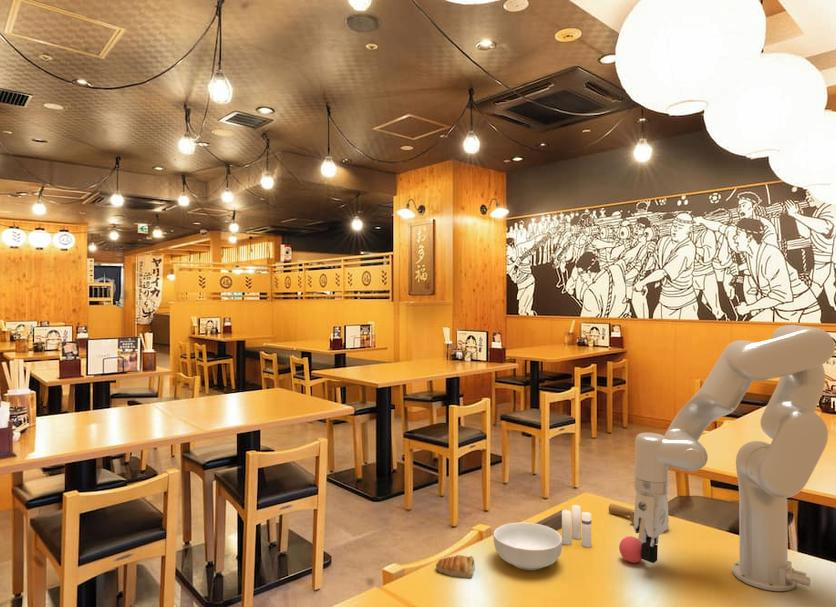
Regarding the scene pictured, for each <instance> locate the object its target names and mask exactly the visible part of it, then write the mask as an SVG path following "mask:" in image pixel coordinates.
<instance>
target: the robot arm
mask: <svg viewBox="0 0 836 607" xmlns="http://www.w3.org/2000/svg"><path fill="white" fill-rule="evenodd" d="M835 350H836V343H835V340H834V339H833V337H832V336H831V334H830V333H828V332H827V331H825V330H823V329H822V328H819V327H814V326H813V327H812V326H808V325H806V326H805V325H798V324H787V325H781V326H779V327H777V328H776V329H775V330H774V331H773V332H772V334H771V336H770V338H769V339H766V340H761V341H752V340H744V339H743V340H742V339H741V340H740V339H738V340H735V341H732V342H730V343H729V344H728V345H726V347H724V349H723V352H721V354H720V356H719V357H718V359H717V361H716V362H715V364H714V366H713V367H712V368H711V371H710V372H709V373H708V376H706V378H705V380H704V382H703V383H702V385H701V387H700V389H699V390H698V391H697V392H696V393H695V394H694V395H693V396H692V397H691V398H690V399H689V400H688V401H687V402H686V403H685V404H684V405H683V406H682V408H680V410H679V411H678V412H677V414H676V415H675V417H674V418H673V420H672V421H671V423H670V425H669V426H668V428H667V430H666V431H665V434H664V435H663V434H660V433H655V432H640V433H639V434H637V435H636V436H635V442H634V445H635V446H634V480H633V482H634V487H633V489H634V491H635V492H636V493H635V502H634V509H633V510H634V525H633V529H634V530H633V531H634V532H635V534H638V536H637V537H638V538H637V539H638V541H640V542H641V544H642V554H641V558H642V560H643V561H646V562H648V563H651V564H655V563H656V562H658V552H659V551H658V548H659V547H658V544H659V536H660V535H662V534H663V533H664V532H666V531H667V530H668V528H669V522H668V519H669V502H668V501H669V499H668V494H669V468H673V469H677V470H682V471H687V472H696V471H699V470H701V469H703V468H704V467H706V465H707V462H708V458H709V457H708V452H707V450H706V448H705V447H704V445H702V444H703V443H701V442H700V441H699V439H700V438H701V436H702V435H703V433H704V432H705V430H706V429H707V428H708V426H710V424H712V423H714V421H716V420H717V419H720V418H723V417H725V416H727V415H730V414H731V413H733V412H734V411H736V409H737V408H738V406H739V404H741V402H742V400H743V398H744V397H745V395H746V394H747V392H748V390H749V388H750V387H751V385H752V384H753V382H755V381H757V382H759V381H761V382H762V381H768V380H774V379H777V378H779V379H778V382H777V384H776V386H775V389H774V391H773V393H772V394H771V397H770V398H769V401H768V403H767V405H766V407H765V409H764V411H763V412H762V415H761V417H760V427H761V429H762V432H764V434H765V435H767V436H768V437H769V438H770V439H772V441H771V442H770V443H768V442H764V441H762V440H761V441H759V440H756V441H755V440H754V441H750V442H749V441H748V442H746V443H745V444H743V445H742V446H741V447H740V448H739V449H738V451H737V453H736V459H735V469H736V475H737V482H738V494H739V495H738V498H739V502H738V503H739V504H738V505H739V507H738V508H739V510H738V512H739V513H738V515H739V518H738V519H739V520H738V521H739V528H738V529H739V534H738V535H739V560H738V561H736V562H734V563H733V564H732V565H731V567H732V568H731V570H732V571H731V572H732V573H733V576H735V577H736V578H737V579H738V580H740V581H741V582H743V583H745V584H747V585H749V586H752V587H754V588H758V589H761V590H766V591H772V592H787V591H791V590H793V589H794V588H796V586H797V583H798V584H799V585H802V586H806V587H808V588H809V587H810V586H811V577H809V576H807V572H804V571H801V570H796V569H795V568H793V567H792V561H790V560H788V558H789V557H788V556H789V555H788V554H789V552H788V551H789V550H788V545H789V544H788V498H792V497H794V496H796V495H797V494H799V493H800V492H801V491H803V490H804V487H805V486H806V485H807V483H808V481H809V480H810V478H811V476H812V474H813V472H814V470H815V468H816V467H817V464H818V463H819V461H820V459H821V457H822V455H823V453H824V451H825V450H826V449H825V448H826V446H827V443H828V437H829V430H828V427H827V424H826V422H825V420H824V419H823V418H822V417H821V415H819V414H818V413H816V408H817V406H818V404H819V402H820V399H821V398H822V395H823V393H824V389H825V386H826V373H825V372H826V371H825V368H824V364H825V363H827V362H828V361H829V360H831V358H833V357H834V356H833V355H834V354H835Z"/></svg>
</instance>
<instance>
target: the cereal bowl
mask: <svg viewBox="0 0 836 607" xmlns="http://www.w3.org/2000/svg"><path fill="white" fill-rule="evenodd" d="M535 523H536V522H535ZM535 523H534V522H525V521H524V522H523V521H521V522H512V523H511V522H509V523H505V524H502V525H500V526H498V527H497V528H495V529H494V531H493V545H494V549H495V551H496V552H497V554H498V556H499V557H500V558H501V559H503V560H504V562H506V563H508V564H510V565H513V567H516V568H517V569H520V570H524V571H536V570H537V571H538V570H539V569H542V568H545V567H549V566H551V565H552V564H554V563H556V561H557V560H558V559H559V558H560V556H561V553H562V549H563V543H562V534H560V533H559V531H558V530H557V531H556V530H554V529H552V528H550V527H547V526H544V525H540V524H535Z"/></svg>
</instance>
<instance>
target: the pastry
mask: <svg viewBox="0 0 836 607" xmlns="http://www.w3.org/2000/svg"><path fill="white" fill-rule="evenodd" d="M435 567H436V571H438V573H440V574H445V575H447V576H449V577H456V578H463V579H464V578H466V579H470V578H473V577H474V575H475V574H474V571H475V569H476V564H475V559H474V556H472V555H470V556H467V555H461V554H457V555H455V556H453V555H452V556H450V557H449V556H447V557H445V558H441V559H439V560H438V561H437V563H435Z"/></svg>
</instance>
